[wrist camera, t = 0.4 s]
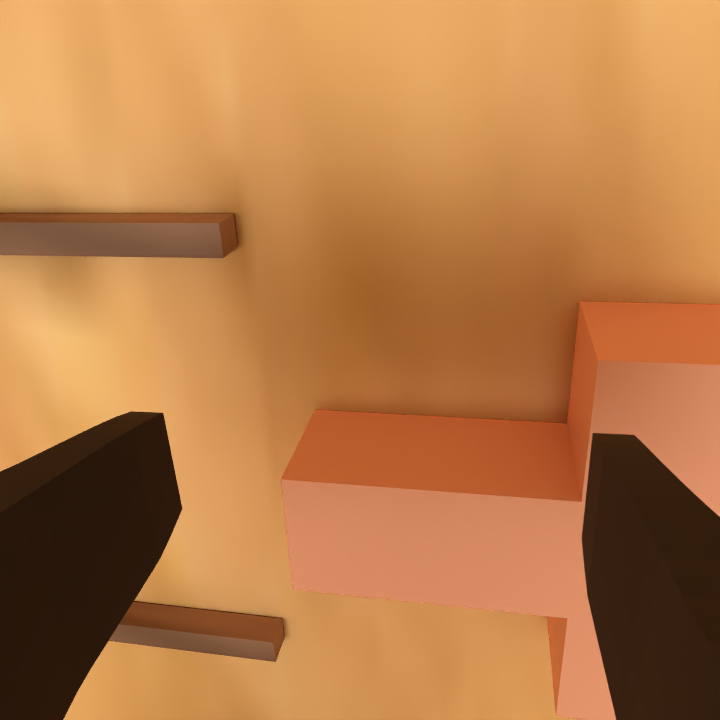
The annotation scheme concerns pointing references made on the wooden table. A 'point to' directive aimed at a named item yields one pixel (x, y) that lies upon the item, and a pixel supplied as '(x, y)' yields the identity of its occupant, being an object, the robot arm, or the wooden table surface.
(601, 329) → the t block
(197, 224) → the frame
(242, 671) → the wooden table surface
